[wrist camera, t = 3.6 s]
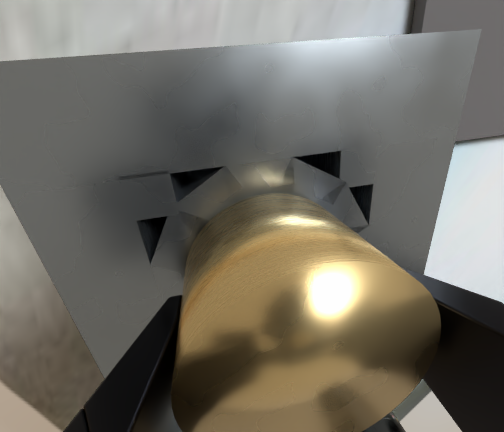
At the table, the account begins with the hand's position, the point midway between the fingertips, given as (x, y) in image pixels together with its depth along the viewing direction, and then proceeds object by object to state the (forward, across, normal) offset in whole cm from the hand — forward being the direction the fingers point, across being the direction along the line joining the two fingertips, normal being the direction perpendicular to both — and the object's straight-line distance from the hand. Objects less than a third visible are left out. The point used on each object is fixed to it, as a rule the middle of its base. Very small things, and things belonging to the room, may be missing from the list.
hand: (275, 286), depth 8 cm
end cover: (+4, 0, 0) cm, 4 cm away
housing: (+5, 0, 0) cm, 5 cm away
